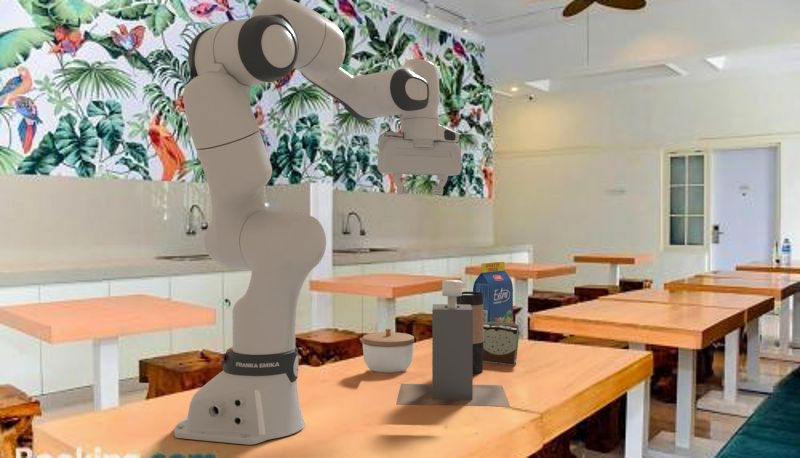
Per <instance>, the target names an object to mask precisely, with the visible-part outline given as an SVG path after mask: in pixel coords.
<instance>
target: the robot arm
mask: <svg viewBox="0 0 800 458" xmlns="http://www.w3.org/2000/svg"><path fill="white" fill-rule="evenodd" d="M346 47H347V46H346V40H345V36H344V33H343V31H342V30H341V29H340V28H339V26H337V25H336V24H335V23H334V22H333V21H331V20H330V19H329V18H327V17H325V16H324V15H322V14H320V13H319V12H317V11H315V10H314V9H312V8H311V7H308V6H306V5H304V4H302V3H300V2H297V1H295V0H260V1H259V2H258V4H257V5H256V6H255V8H254V9H253V11H252V14H251V17H249V18H242V19H231V20H228V21H225V22H222V23H219V24H218V25H215V26H213V27H212V26H211V27H207V28H205V29H204V30H202V31H201V32H199V33H198V34H197V35H195V36H194V38H193V39H192V41H191V43H190V45H189V48H188V54H187V61H188V67H189V78H190V81H189V82H188V83H187V84H186V85H185V87H184V89H183V92H182V99H183V106H184V112H185V117H186V121H187V125H188V129H189V134H190V136H191V139H192V142H193V145H194V149H195V150H196V154H197V156H198V159H199V161H200V164H201V167H202V169H203V173H204V176H205V179H206V182H207V185H208V189H209V192H210V193H209V194H210V198H211V209H212V210H211V211H212V213H211V221H210V223H209V224H208V226H207V228H206V231H205V233H204V247H205V251H206V253H207V255H208V256H209V258H210V259H211V260H212V261H213V262H215V263H217V264H219V265H221V266H223V267H225V268H229V269H231V270H234V271H247V272H251V276H250V280H249V284H248V287H247V289H246V292H245V294H243V296H242V297H240V298H239V299H238V300H237V301H236V302H235V304H234V305H233V308H232V346H230V347H228V348H227V349H226V351H225V353H223V354H221V357H219V365H221V368H222V371H220V372H219V373H218V374H217V375H215V376H214V377H212V379H210V380H209V381H208V382H206V384H204V385H203V386H201V388H200V389H199V388H198V390H197V391H196V392H195V393H194V394H193V396H192V398H191V400H190V402H189V407H188V411H187V416H185V417H183V418H182V419H181V420H179V421H178V422H177V424H176V425H175V427H174V432H173V436H174V437H175V438H177V439H186V440H195V441H196V440H197V441H204V442H205V441H207V442H217V443H228V444H239V445H247V446H249V445H250V446H251V445H257V444H260V443H262V442H265V441H268V440H272V439H278V438H283V437H287V436H290V435H293V434H295V433H298V432H299V431H301V430H302V429H304V427H305V425H306V424H305V420H304V417H303V414H302V410H301V404H300V400H299V399H300V397H299V392H298V383H297V379H298V376H299V364H300V363H299V354H298V351H299V349H298V348H297V347H296V325H297V324H296V321H297V320H296V319H297V317H296V316H297V306H298V301H299V296H300V293H301V290H302V288H303V286H304V283H305V281H306V279H307V277H308V276H309V274H310V273H311V272H312V271H313V270H314V268H316V267H317V266H318V265H319V264H320V263H321V261H322V259H323V257H324V255H325V252H326V247H327V237H326V233H325V229H324V227H323V225H322V224H321V222H320V221H319V220H318V219H317V218H315V217H314V216H312V215H309V214H306V213H303V212H298V211H296V210H295V211H293V210H268V209H267V207H266V205H265V199H264V190H265V188H264V187H266V186H267V184H268V183H269V181H270V180H271V178H272V175H273V166H272V163H271V161H270V158H269V155H268V151H267V149H266V145H265V143H264V140H263V136H262V134H261V130H260V127H259V125H258V122H257V120H256V116H255V113H254V111H253V109H252V106H251V99H250V98H251V89H252V87H255V86H259V85H262V84H265V83H275V82H276V81H279V80H281V79H282V78H284V77H286V76H287V75H288V74H290V73H291V72H292V70H293V69H295V70H296V71H298V72H299V73H300V74H301V76H302V77H303V78H305V79H306V80H307V81H308V82H309V83H311V84H312V85H314V87H317V88H318V89H319V90H321V91H323V92H324V93H326V94H327V95H328V96H330V97H332V98H333V99H334V100H336V101H337V102H339V103H340V104H341V106H343V108H345V109H346V111H347V112H348V114H349V115H351V116H352V117H353V118H354V119H356V120H358V121H361V122H362V121H363V122H367V121H370V120H373V119H377V118H382V117H383V118H384V117H390V116H391V117H392V116H395V115H401V116H400V117H401V118H400V132H399V131H395V132H394V131H393V132H392V131H385V132H383V133H382V134H380V135H379V137H378V139H377V140H378V141H377V142H378V143H377V145H378V146H377V147H378V155H377V165H376V168H377V170H378V172H379V173H380V174H387V175H388V174H391V176H392V178H391V179H392V181H393V183H394V184H395V186H396V194H397V195H407V186H405V185H404V184H403V183H402V181H401V179H402V178H403V175H417V176H422V175H424V176H437V181H439V182H438V184H437V185H436V187H433V196H442V195H443V194H444V187H445V186H446V183H447V182H448V176H449V177H450V176H451V177H452V176H453V177H455V176H459V175H460V173H462V169H463V167H462V165H463V162H462V150H461V147H460V146H459V144H458V142H459V141H460V134H459V133H458V132H456V131H454V130H452V129H450V128H448V127H446V126H444V125H441V124H440V121H441V120H440V119H441V118H440V115H439V106H440V102H441V101H440V98H441V97H440V82H439V81H440V80H439V74H438V69H437V67H436V65H435V64H434V63H432V62H431V61H429V60H425V59H420V58H413V59H411V58H410V59H409V60H406V61H405V62H404V63H403V65H401V66H399V67H398V66H397V67H396V68H393V69H388V70H384V71H379V72H374V73H370V74H368V73H367V74H363V75H362V74H360V75H352V74H350V73H349V72H348V71H346V70H345V69H344V68H342V67H341V66H342V65H343V64H344V61H345V56H346V50H347V49H346Z"/></svg>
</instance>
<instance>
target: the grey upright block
mask: <svg viewBox="0 0 800 458" xmlns="http://www.w3.org/2000/svg"><path fill="white" fill-rule="evenodd" d="M431 310H432V314H431V315H432V321H431V325H432V329H431V330H432V332H431V334H432V336H431V337H432V341H431V342H432V351H431V352H432V356H431V357H432V358H431V359H432V363H431V364H432V365H431V366H432V375H431V376H432V378H431V379H432V381H431V382H432V383H431V384H432V399H448V400H473V385H474V384H473V382H474V381H473V380H474V379H473V376H474V375H473V309H472V307H471V305H461V304H457V308H448V303H446V304H444V303H443V304H442V303H440V304H439V303H438V304H435V303H433V304H432V309H431Z"/></svg>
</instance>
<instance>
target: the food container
mask: <svg viewBox="0 0 800 458" xmlns="http://www.w3.org/2000/svg"><path fill="white" fill-rule="evenodd" d="M522 333H523V332H522V329H521V327H520V325H519V324H517V323H514V322H513V323H507V322H483V337H484V341H483V363H489V362H491V364H497V363H500V364H499V365H505V364H508V365H507V366H512V365H515V366H517V357H518V348H519V339H520V337H519V336H522Z"/></svg>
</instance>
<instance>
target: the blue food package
mask: <svg viewBox="0 0 800 458" xmlns="http://www.w3.org/2000/svg"><path fill="white" fill-rule="evenodd" d="M505 268H506V267H505V261H494V262H484V263H481V267H480V269H481V271H480V274H478V276H477V278H476V279H475V281H474V282H473V286H472V292H480V293H483V322H507V323H514V287H513V286H514V285H513V281H512V279H511V277H510V275H509V273H507V272H506V271H505Z"/></svg>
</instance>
